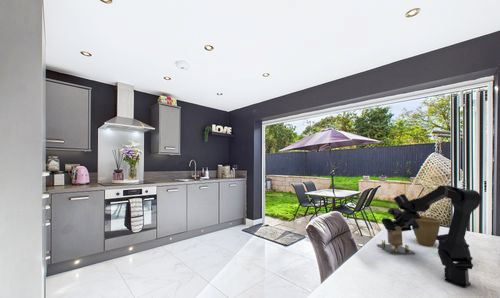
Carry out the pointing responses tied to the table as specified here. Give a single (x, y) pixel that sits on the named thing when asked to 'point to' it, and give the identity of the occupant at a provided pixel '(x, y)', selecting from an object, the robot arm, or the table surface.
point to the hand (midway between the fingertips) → (392, 231)
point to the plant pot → (427, 231)
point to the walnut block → (395, 236)
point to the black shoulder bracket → (444, 237)
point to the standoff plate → (395, 249)
